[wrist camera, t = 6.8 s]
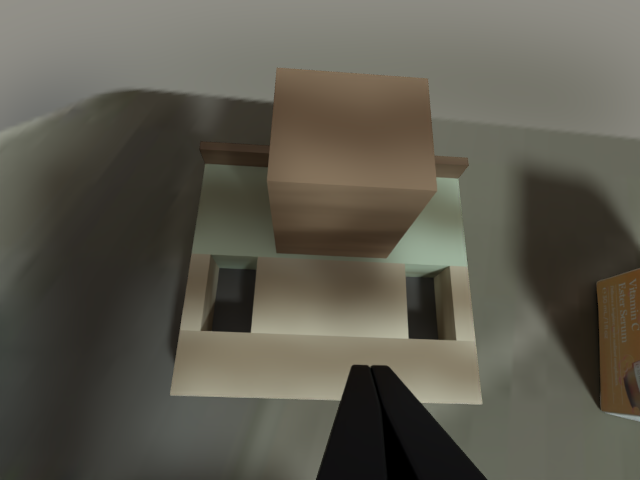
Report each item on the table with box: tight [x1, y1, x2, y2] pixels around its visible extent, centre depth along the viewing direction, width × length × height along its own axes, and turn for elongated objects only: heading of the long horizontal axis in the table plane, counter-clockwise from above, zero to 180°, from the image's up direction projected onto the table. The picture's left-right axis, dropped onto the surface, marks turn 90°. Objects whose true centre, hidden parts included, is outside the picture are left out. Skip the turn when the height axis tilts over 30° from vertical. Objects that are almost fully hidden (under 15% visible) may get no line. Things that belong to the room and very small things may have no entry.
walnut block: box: [267, 68, 437, 259], centre depth 18 cm, size 5×6×8 cm
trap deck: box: [170, 141, 482, 404], centre depth 21 cm, size 13×15×4 cm
